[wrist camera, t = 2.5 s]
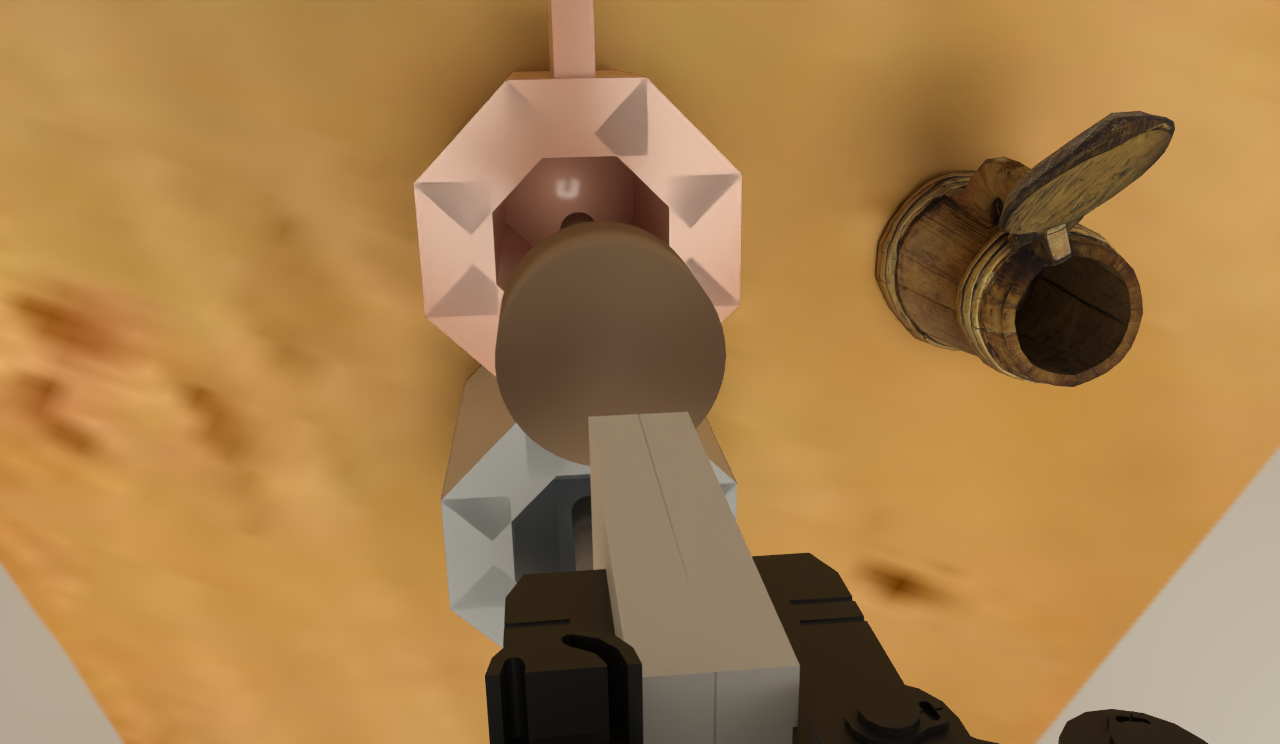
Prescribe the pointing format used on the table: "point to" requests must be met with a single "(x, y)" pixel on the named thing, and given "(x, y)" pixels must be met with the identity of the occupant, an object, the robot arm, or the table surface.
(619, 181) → the pink octagonal mug
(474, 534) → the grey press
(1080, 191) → the wooden mug
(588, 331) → the taupe plunger
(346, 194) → the table surface
